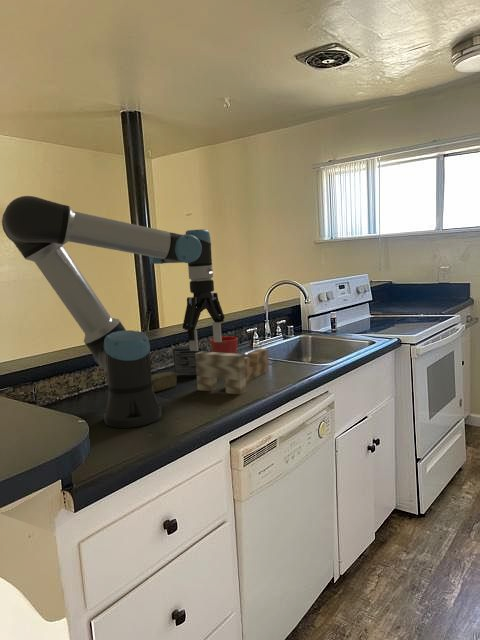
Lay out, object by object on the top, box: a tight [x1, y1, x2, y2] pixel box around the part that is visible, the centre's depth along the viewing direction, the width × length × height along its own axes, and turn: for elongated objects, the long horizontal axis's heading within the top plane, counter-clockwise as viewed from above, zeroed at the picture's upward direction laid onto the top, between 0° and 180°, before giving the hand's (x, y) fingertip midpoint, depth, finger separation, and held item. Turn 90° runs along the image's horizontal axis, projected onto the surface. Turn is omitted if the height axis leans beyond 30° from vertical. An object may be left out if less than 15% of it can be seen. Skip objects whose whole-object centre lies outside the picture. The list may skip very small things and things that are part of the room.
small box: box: [172, 344, 205, 378], centre depth 177 cm, size 11×6×10 cm, turn 84°
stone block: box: [152, 371, 178, 393], centre depth 160 cm, size 6×12×5 cm, turn 135°
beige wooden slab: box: [195, 350, 247, 396], centre depth 153 cm, size 16×4×12 cm, turn 60°
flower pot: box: [209, 336, 239, 354], centre depth 194 cm, size 11×11×10 cm
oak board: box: [244, 348, 270, 383], centre depth 168 cm, size 22×4×8 cm, turn 150°
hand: (206, 346), depth 155 cm, fingers open, 13 cm apart
